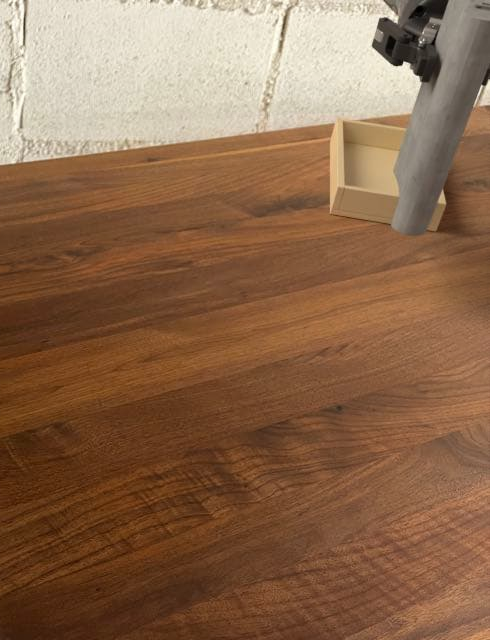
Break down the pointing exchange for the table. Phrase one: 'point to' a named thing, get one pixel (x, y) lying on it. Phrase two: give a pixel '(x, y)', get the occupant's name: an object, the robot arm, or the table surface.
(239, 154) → the table surface
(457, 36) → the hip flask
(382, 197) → the tray
